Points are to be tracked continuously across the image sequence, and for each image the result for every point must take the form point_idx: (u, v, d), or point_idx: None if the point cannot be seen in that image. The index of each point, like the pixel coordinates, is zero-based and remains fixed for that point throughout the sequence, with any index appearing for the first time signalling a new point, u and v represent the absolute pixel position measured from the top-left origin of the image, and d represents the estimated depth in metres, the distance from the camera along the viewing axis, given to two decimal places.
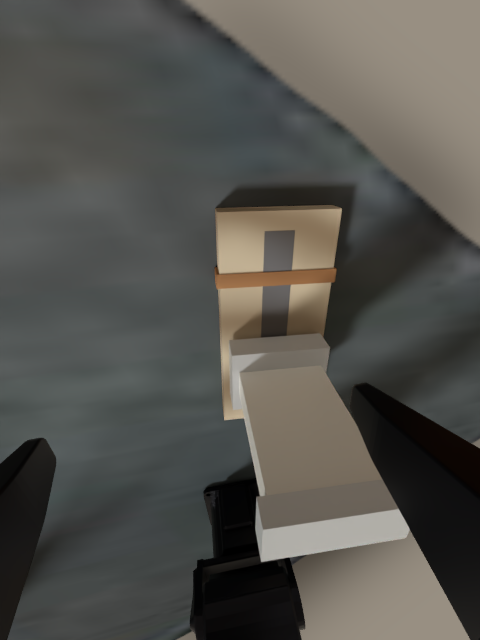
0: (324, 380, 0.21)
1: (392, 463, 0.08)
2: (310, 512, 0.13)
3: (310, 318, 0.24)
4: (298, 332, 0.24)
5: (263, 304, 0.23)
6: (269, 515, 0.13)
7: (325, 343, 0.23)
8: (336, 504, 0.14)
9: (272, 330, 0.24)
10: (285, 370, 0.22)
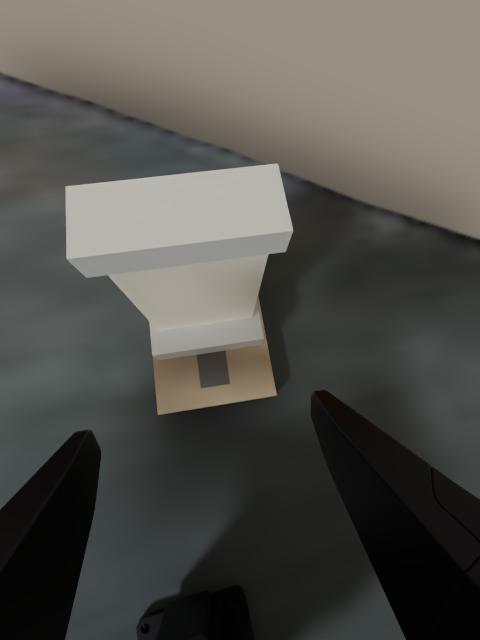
0: None
1: (343, 472, 0.08)
2: None
3: None
4: None
5: None
6: None
7: None
8: None
9: None
10: None
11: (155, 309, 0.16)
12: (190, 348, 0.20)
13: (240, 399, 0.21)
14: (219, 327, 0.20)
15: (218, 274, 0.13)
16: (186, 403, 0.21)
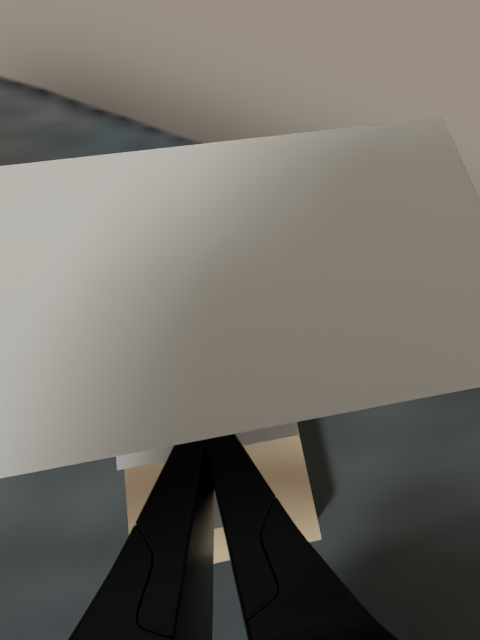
0: None
1: None
2: None
3: None
4: None
5: None
6: None
7: None
8: None
9: None
10: None
11: None
12: None
13: None
14: None
15: None
16: None
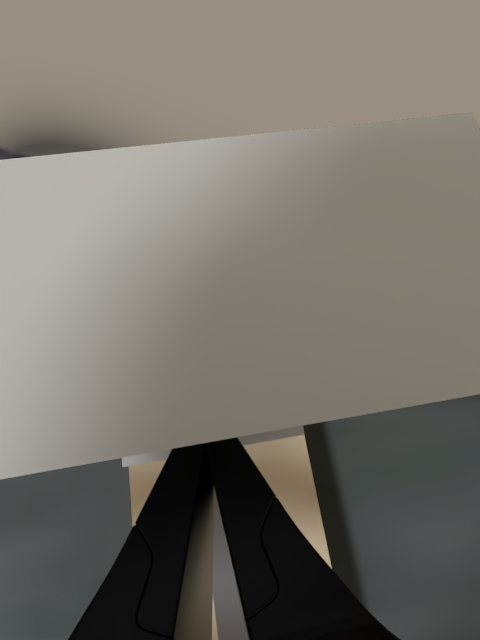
0: None
1: (216, 497, 0.07)
2: None
3: (283, 470, 0.14)
4: None
5: None
6: None
7: None
8: None
9: None
10: None
11: None
12: None
13: None
14: None
15: None
16: None
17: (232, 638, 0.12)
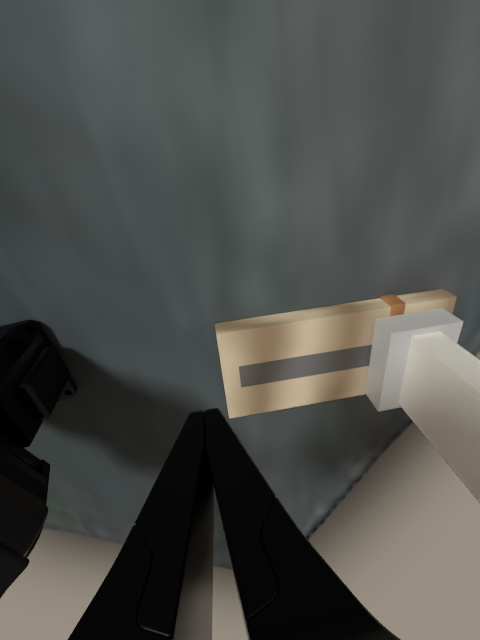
0: None
1: None
2: None
3: (345, 386, 0.25)
4: (332, 381, 0.25)
5: (366, 346, 0.24)
6: None
7: None
8: None
9: (338, 359, 0.24)
10: None
11: (454, 385, 0.18)
12: (387, 362, 0.22)
13: (227, 395, 0.24)
14: (397, 382, 0.23)
15: None
16: (225, 356, 0.22)
17: (275, 366, 0.23)
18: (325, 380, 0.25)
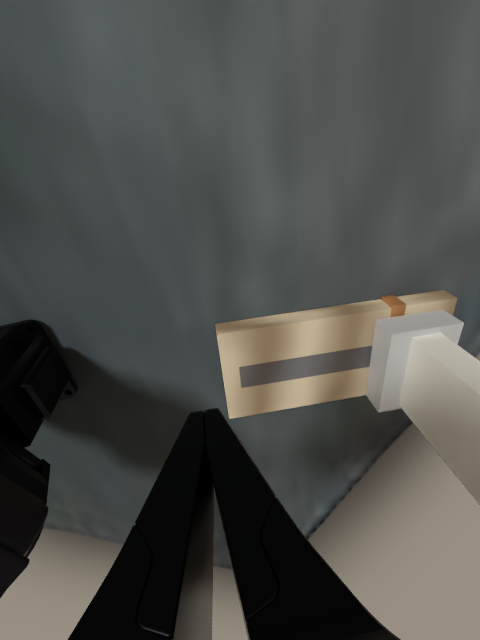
0: None
1: None
2: None
3: (345, 387, 0.25)
4: (332, 382, 0.25)
5: (367, 347, 0.24)
6: None
7: None
8: None
9: (338, 360, 0.24)
10: None
11: (455, 387, 0.18)
12: (388, 363, 0.22)
13: (227, 395, 0.24)
14: (398, 383, 0.23)
15: None
16: (226, 356, 0.22)
17: (276, 366, 0.23)
18: (325, 381, 0.25)
